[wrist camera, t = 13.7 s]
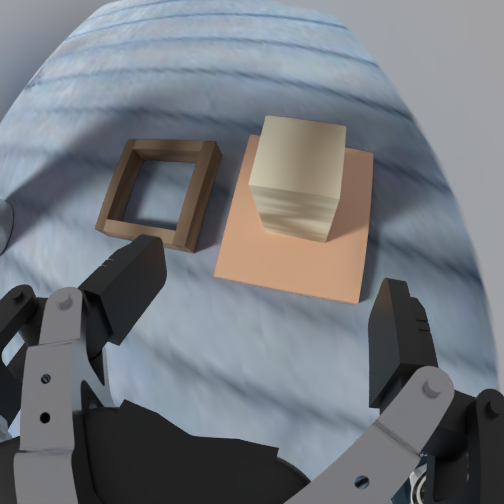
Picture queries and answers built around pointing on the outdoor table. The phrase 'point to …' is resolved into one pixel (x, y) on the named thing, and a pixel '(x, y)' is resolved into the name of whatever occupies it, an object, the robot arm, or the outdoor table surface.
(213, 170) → the walnut pocket frame
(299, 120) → the ash block
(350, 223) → the terracotta tile
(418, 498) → the watch
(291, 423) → the outdoor table surface
